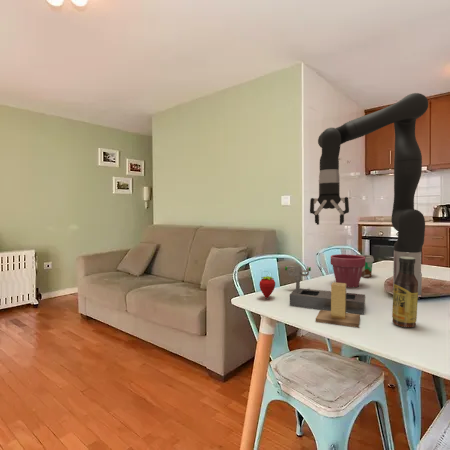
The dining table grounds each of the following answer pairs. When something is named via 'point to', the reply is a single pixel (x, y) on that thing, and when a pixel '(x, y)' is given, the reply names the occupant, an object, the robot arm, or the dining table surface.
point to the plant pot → (348, 269)
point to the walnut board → (348, 321)
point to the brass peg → (338, 300)
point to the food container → (367, 266)
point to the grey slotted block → (326, 300)
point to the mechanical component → (297, 273)
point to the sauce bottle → (405, 294)
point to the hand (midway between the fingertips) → (329, 224)
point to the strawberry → (267, 286)
